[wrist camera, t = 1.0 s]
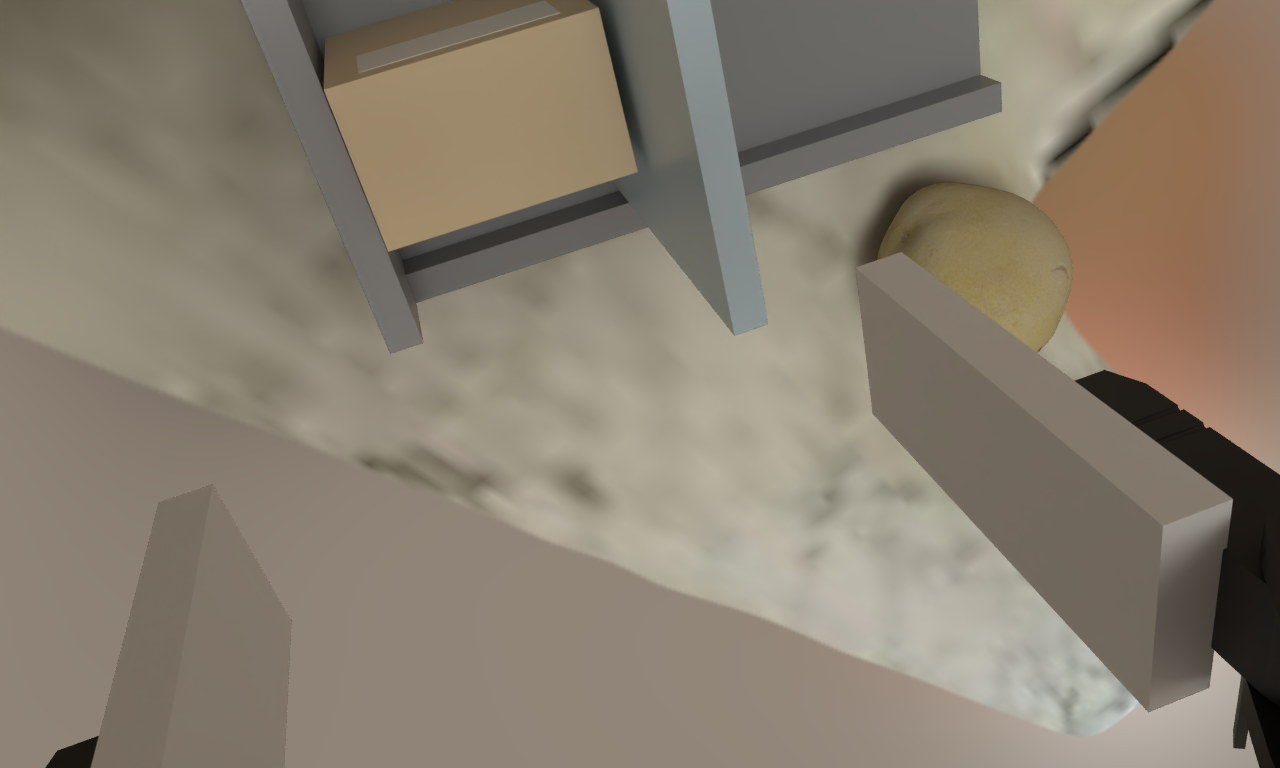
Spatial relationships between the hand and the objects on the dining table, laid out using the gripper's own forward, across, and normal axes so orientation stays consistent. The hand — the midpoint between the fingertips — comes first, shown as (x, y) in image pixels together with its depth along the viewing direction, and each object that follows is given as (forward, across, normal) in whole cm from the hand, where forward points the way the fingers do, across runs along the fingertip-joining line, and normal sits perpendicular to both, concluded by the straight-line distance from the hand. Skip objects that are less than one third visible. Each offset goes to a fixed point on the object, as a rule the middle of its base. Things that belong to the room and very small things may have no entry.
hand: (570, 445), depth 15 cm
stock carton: (+25, +1, 0) cm, 25 cm away
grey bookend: (+24, +8, 0) cm, 26 cm away
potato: (+26, +19, -13) cm, 35 cm away
